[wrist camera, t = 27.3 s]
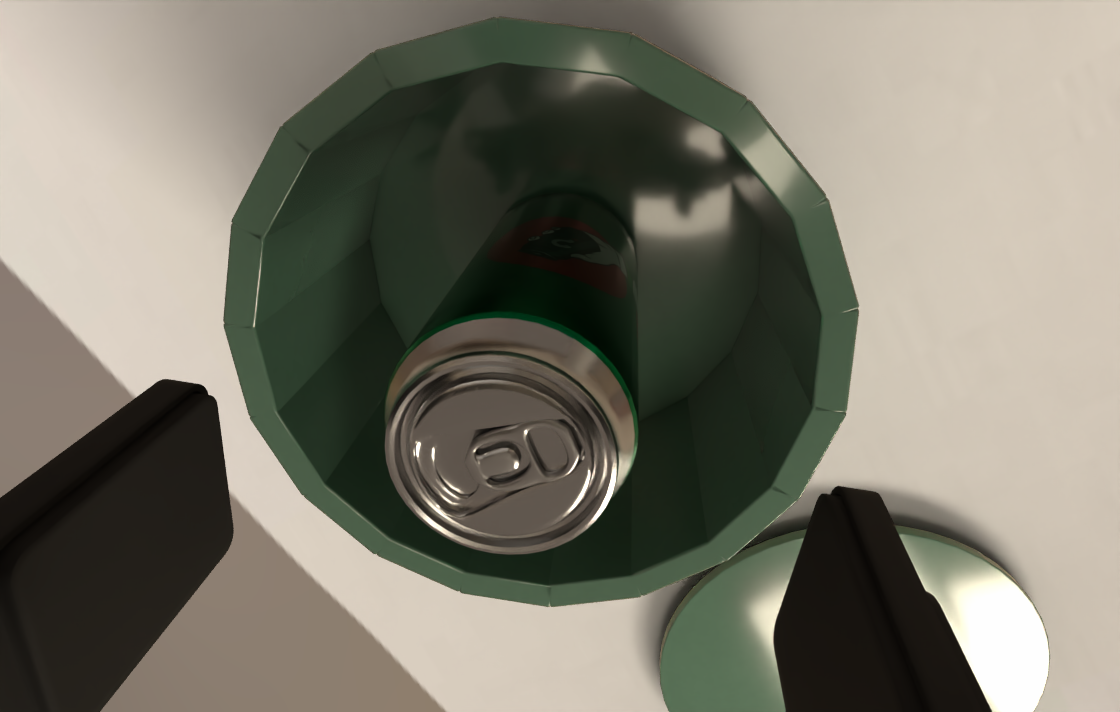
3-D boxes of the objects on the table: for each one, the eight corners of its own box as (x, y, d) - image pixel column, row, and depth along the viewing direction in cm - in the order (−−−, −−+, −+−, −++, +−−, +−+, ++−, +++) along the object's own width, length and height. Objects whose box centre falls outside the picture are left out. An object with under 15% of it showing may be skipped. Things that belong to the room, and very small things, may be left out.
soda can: (464, 220, 23) (313, 385, 12) (607, 165, 22) (579, 296, 11) (522, 351, 25) (435, 594, 14) (657, 307, 24) (675, 537, 13)
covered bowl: (348, -3, 21) (185, -23, 13) (839, 57, 21) (961, 73, 13) (355, 412, 27) (247, 560, 20) (732, 468, 27) (770, 643, 19)
